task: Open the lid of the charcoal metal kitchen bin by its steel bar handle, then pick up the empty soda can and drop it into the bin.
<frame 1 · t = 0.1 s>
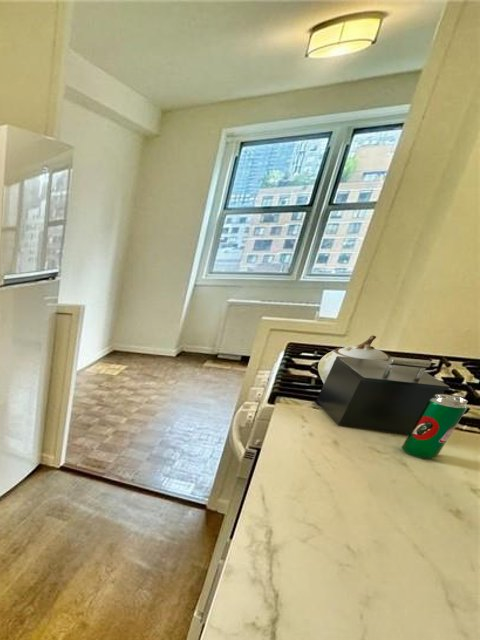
bin: (362, 417, 112), on the worktop
sugar bowl: (344, 392, 126), on the worktop
bin lid: (392, 362, 105), point 13 cm above the worktop, hinge at 0.0°
soda can: (417, 454, 97), on the worktop
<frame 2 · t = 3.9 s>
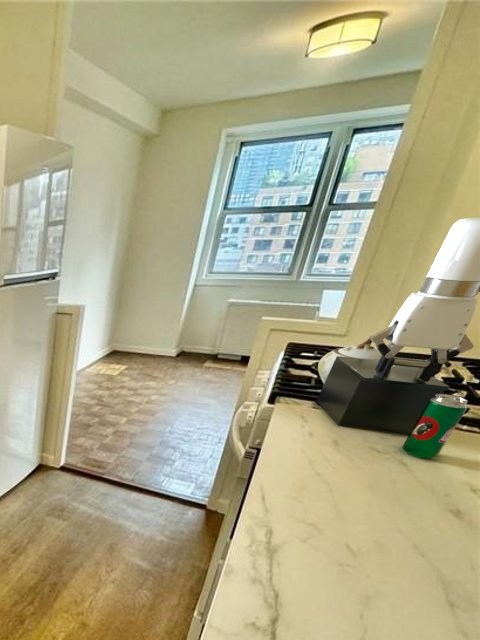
hand: (401, 376, 101), 12 cm above the worktop, tool pointing down, fingers closed on bin lid, 6 cm apart
bin lid: (392, 362, 105), point 13 cm above the worktop, hinge at 0.0°, touching gripper
everything else where it was.
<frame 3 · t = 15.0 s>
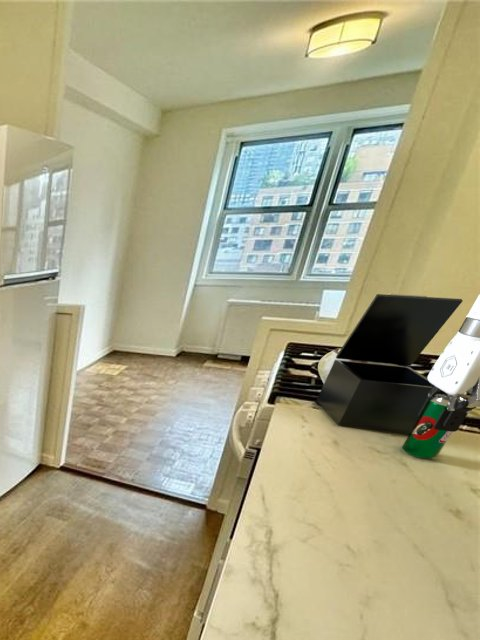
hand: (436, 423, 93), 7 cm above the worktop, tool pointing down, fingers closed on soda can, 5 cm apart
bin lid: (391, 325, 108), point 20 cm above the worktop, hinge at 70.2°
soda can: (417, 454, 97), on the worktop, touching gripper
everything else where it was.
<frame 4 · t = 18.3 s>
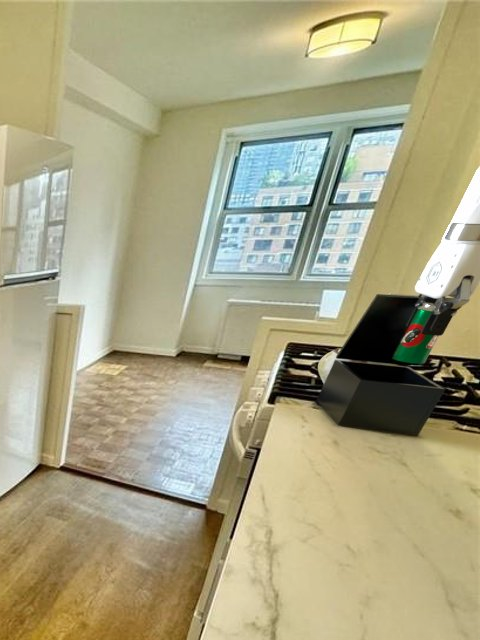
hand: (423, 330, 99), 21 cm above the worktop, tool pointing down, fingers closed on soda can, 5 cm apart
bin lid: (391, 325, 108), point 20 cm above the worktop, hinge at 70.3°, touching gripper
soda can: (405, 363, 102), point 14 cm above the worktop, touching gripper
everything else where it was.
when the fingers open (16 cm above the worktop, at t = 20.6 s): soda can drops 8 cm, point 1 cm above the worktop.
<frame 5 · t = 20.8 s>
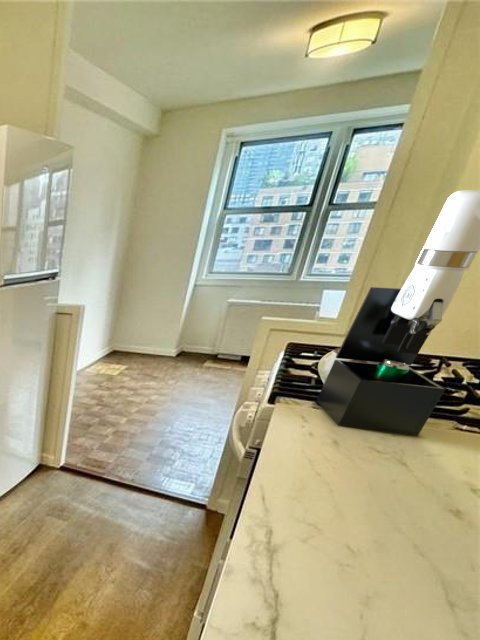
hand: (399, 347, 104), 17 cm above the worktop, tool pointing down, fingers open, 6 cm apart
bin lid: (387, 323, 110), point 20 cm above the worktop, hinge at 85.1°, touching gripper
soda can: (365, 413, 111), point 1 cm above the worktop
everything else where it was.
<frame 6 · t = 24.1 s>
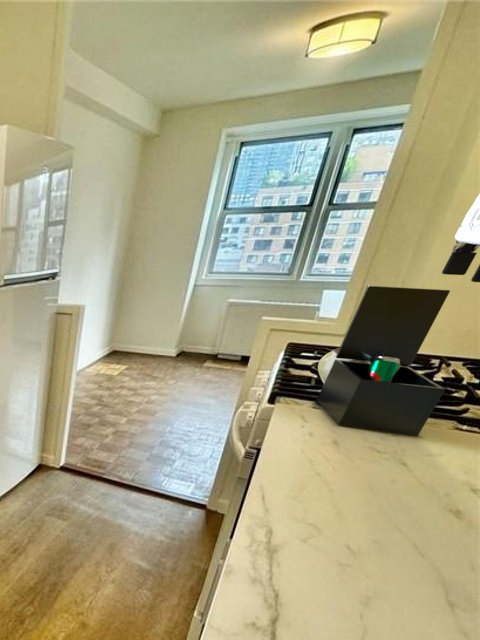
hand: (467, 278, 89), 32 cm above the worktop, tool pointing down, fingers open, 9 cm apart
bin lid: (385, 323, 111), point 19 cm above the worktop, hinge at 91.0°
soda can: (365, 410, 111), point 2 cm above the worktop, touching bin
everything else where it was.
at the end: bin lid at +91° (first picture: +0°); soda can inside the target area in the bin (0.2 cm from its centre), point 1.7 cm above the bin's base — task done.
